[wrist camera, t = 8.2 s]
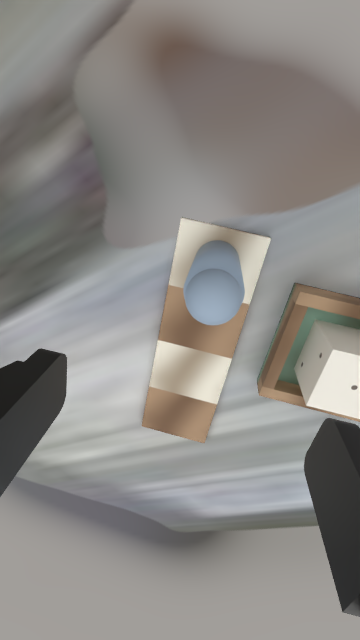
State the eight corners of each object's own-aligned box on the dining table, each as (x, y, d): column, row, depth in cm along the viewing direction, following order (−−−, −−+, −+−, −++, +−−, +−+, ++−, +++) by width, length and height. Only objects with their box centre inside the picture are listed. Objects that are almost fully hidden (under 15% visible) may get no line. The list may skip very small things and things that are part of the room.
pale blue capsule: (246, 247, 23) (257, 285, 15) (231, 289, 25) (234, 346, 16) (201, 234, 23) (187, 265, 15) (189, 277, 25) (170, 328, 16)
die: (376, 333, 24) (408, 367, 20) (349, 382, 27) (373, 423, 22) (314, 319, 25) (332, 349, 20) (293, 368, 27) (305, 406, 22)
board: (270, 237, 23) (271, 238, 23) (204, 438, 33) (204, 443, 32) (182, 217, 24) (181, 218, 23) (143, 422, 33) (141, 425, 33)
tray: (420, 312, 24) (437, 324, 22) (362, 407, 28) (372, 425, 26) (294, 282, 24) (300, 291, 22) (257, 380, 29) (258, 395, 27)
